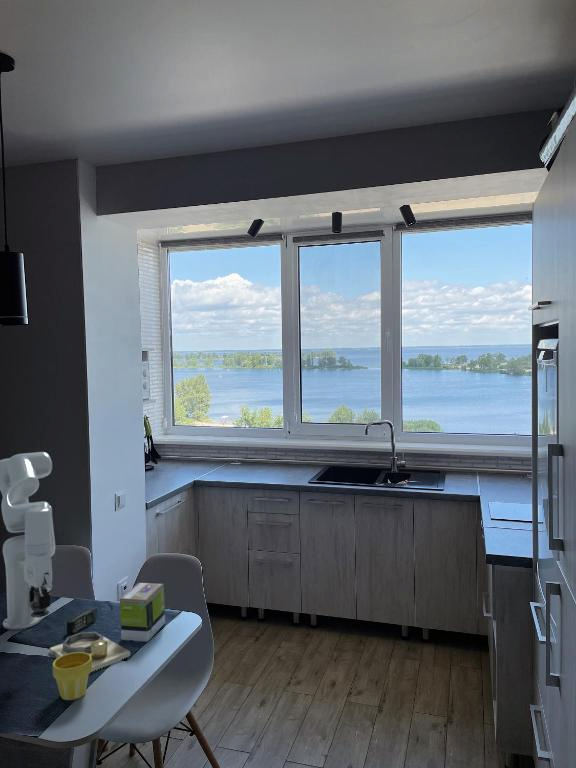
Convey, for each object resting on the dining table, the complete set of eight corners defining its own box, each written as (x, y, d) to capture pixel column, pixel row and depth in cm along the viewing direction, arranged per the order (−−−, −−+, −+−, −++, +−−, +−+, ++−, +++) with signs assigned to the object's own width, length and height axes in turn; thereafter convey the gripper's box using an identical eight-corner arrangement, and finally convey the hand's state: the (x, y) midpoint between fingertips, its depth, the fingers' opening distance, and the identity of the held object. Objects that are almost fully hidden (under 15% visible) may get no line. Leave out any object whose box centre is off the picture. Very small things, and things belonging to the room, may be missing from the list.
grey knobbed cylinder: (42, 618, 183) (41, 580, 182) (25, 616, 184) (24, 578, 184) (53, 610, 189) (53, 573, 188) (37, 609, 190) (36, 571, 189)
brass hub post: (87, 656, 188) (87, 643, 188) (102, 650, 191) (102, 638, 191) (96, 661, 184) (95, 648, 184) (110, 655, 188) (110, 642, 188)
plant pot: (64, 683, 174) (63, 650, 174) (98, 685, 173) (97, 651, 173) (46, 703, 164) (45, 668, 164) (82, 705, 163) (81, 670, 163)
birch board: (49, 652, 194) (49, 648, 193) (94, 635, 205) (94, 631, 205) (83, 675, 179) (83, 670, 179) (130, 656, 190) (130, 651, 190)
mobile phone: (71, 622, 206) (100, 605, 219) (64, 621, 207) (94, 604, 221) (71, 636, 206) (101, 618, 220) (65, 635, 207) (94, 617, 221)
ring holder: (57, 646, 194) (57, 640, 194) (90, 634, 203) (90, 628, 203) (75, 658, 186) (75, 651, 186) (108, 645, 195) (108, 639, 195)
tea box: (139, 621, 216) (139, 581, 216) (165, 623, 214) (165, 583, 214) (120, 640, 202) (119, 597, 201) (147, 642, 200) (146, 599, 199)
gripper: (14, 544, 189) (15, 600, 189) (39, 556, 177) (40, 616, 178) (37, 539, 194) (39, 593, 195) (63, 550, 182) (64, 608, 183)
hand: (39, 604), depth 186 cm, fingers closed on grey knobbed cylinder, 5 cm apart
